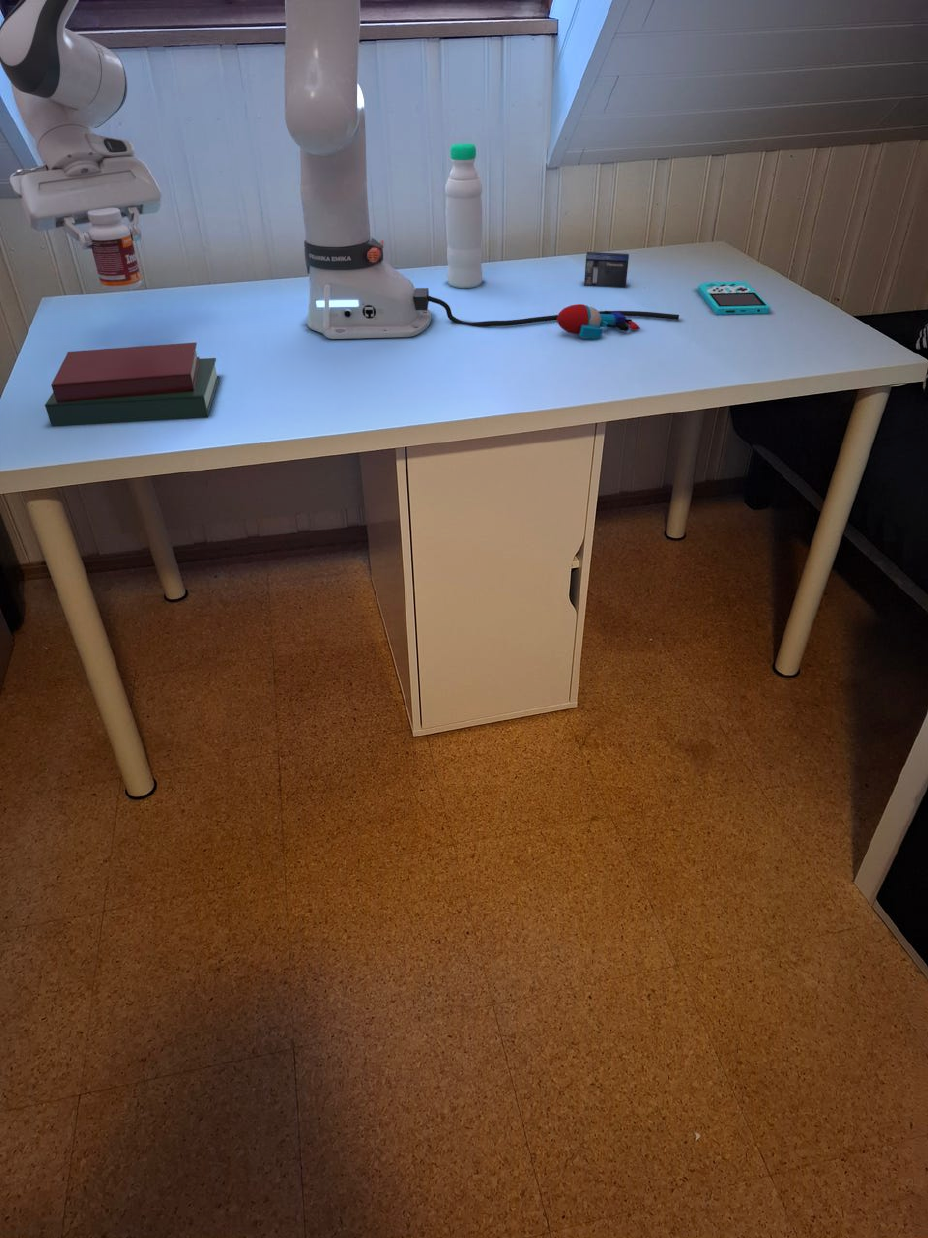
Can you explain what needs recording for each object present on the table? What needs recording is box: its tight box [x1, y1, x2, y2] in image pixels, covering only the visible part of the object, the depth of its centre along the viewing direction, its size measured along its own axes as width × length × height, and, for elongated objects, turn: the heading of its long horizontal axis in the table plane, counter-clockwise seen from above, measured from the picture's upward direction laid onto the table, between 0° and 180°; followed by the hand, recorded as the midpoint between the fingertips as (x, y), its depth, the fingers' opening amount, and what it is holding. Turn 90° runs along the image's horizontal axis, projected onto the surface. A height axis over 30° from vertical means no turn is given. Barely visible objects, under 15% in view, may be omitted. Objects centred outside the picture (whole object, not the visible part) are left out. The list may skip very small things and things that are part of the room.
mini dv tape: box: [583, 251, 630, 289], centre depth 171 cm, size 8×2×6 cm, turn 77°
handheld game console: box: [697, 280, 771, 316], centre depth 164 cm, size 10×16×1 cm, turn 2°
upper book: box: [51, 341, 201, 402], centre depth 128 cm, size 19×13×3 cm
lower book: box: [44, 357, 220, 427], centre depth 130 cm, size 22×15×3 cm
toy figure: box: [556, 303, 641, 340], centre depth 151 cm, size 8×5×15 cm
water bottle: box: [444, 142, 483, 289], centre depth 167 cm, size 7×7×25 cm
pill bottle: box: [87, 208, 143, 292], centre depth 134 cm, size 6×6×11 cm
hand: (113, 242), depth 133 cm, fingers closed on pill bottle, 6 cm apart
